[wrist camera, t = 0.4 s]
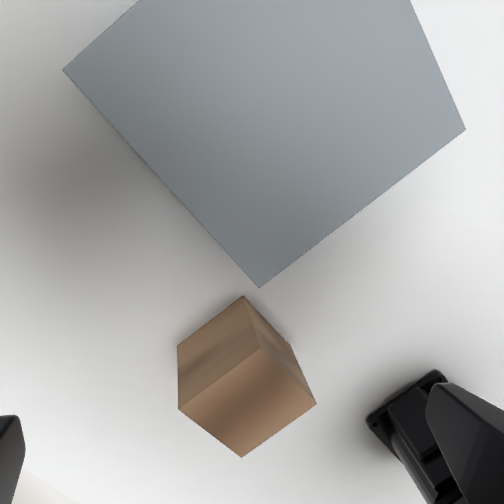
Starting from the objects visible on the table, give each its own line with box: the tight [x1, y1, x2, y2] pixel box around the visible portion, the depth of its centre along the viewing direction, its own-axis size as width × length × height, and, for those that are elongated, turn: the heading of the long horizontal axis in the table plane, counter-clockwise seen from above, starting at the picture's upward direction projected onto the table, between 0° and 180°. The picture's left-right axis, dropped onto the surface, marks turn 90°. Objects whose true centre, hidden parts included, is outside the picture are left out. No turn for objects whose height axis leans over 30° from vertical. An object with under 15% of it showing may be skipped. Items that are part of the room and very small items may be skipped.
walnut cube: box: [177, 296, 316, 458], centre depth 21 cm, size 5×5×5 cm
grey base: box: [62, 0, 466, 288], centre depth 17 cm, size 12×12×3 cm
